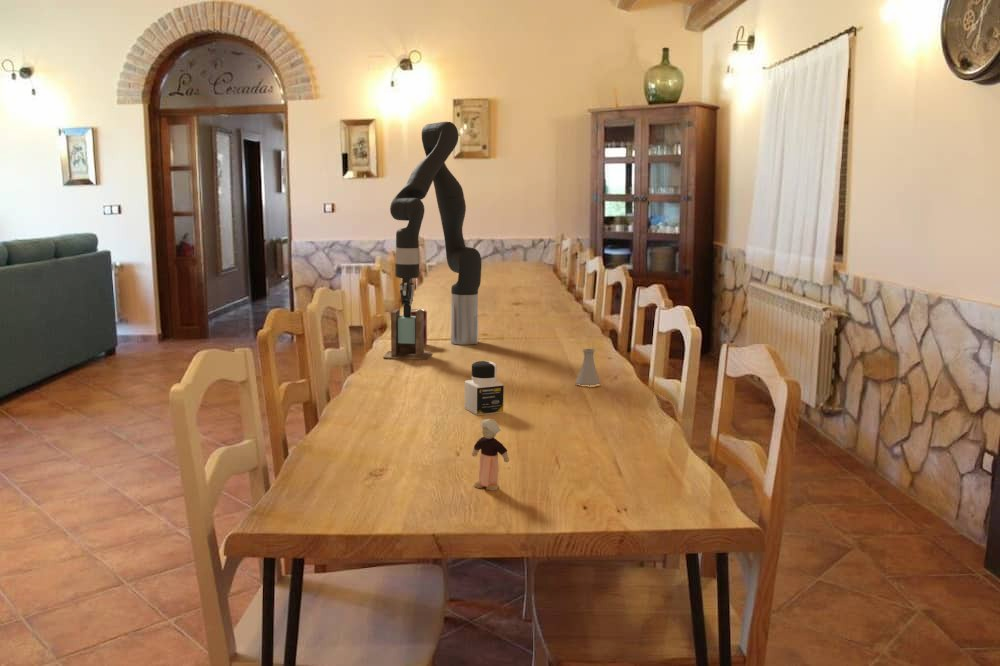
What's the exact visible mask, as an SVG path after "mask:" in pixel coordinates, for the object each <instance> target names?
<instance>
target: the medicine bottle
mask: <svg viewBox="0 0 1000 666" xmlns="http://www.w3.org/2000/svg"><path fill="white" fill-rule="evenodd" d="M497 378H498V365H497V364H496V363H495V362H493V361H489V360H488V361H487V360H480V361H475V362H473V363H472V364H471V379H469V380H465V381H464V409H465V410H466V411H468V412H469V413H472V414H473V415H475V416H477V417H478V416H485V415H487V416H488V415H495V414H502V413H503V412H504V390H505V389H504V387H505V385H504V383H502V382H500V381H497V380H498V379H497Z"/></svg>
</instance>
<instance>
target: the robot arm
mask: <svg viewBox="0 0 1000 666" xmlns="http://www.w3.org/2000/svg"><path fill="white" fill-rule="evenodd" d="M421 142H422V146H423V150H424V153H425V157H424V159H422V160H421V161H420V162H419V164H417V165H416V167H415V168H414V169H413V170H412V173H411V174H410V176H409V178H408V180H407V182H406V184H405V185H404V186H403V188H402V189H401V190H400V191H399V192H398V193H397V194H396V195H395V196H394V198H393V199H392V201H391V204H390V207H389V211H390V215H391V218H393V219H394V220H396V221H403V222H404V221H405V222H406V221H408V223H407V225H406V227H403V228H399V229H397V230H396V234H395V253H394V254H395V255H394V256H395V257H394V258H395V259H394V261H395V263H394V264H395V268H394V273H395V274H394V277H396V278H398V279H401V280H402V281H401V283H400V286H399V287H400V288H399V289H400V291H399V292H400V299H401V305H402V306H403V308H402V309H403V314H402V316H404V317H411V309H412V304H413V301H414V300H413V299H414V290H415V282H413V279H417V278H419V277H420V249H419V245H420V244H419V243H420V241H419V240H420V239H419V236H420V235H419V234H420V231H421V227H422V223H423V219H424V216H425V206H424V203H423V201H422V200H423V199H424V198H426V196H427V195H428V192H429V190H430V188H431V186H432V184H433V186H434V192H435V197H436V203H437V208H438V212H439V216H440V217H439V218H440V221H441V222H440V223H441V226H442V232H443V237H444V245H445V256H446V257H445V258H446V261H447V262H446V263H447V265H448V267H449V269H450V270H451V271H452V272H454V273H456V274H458V275H457V276H458V277H457V281H456V282H455V283H454V284H452V285H451V287H450V288H451V290H450V291H451V292H450V293H451V294H450V297H451V299H450V304H451V306H450V307H451V308H450V341H451V342H450V343H451V344H455V345H460V346H461V345H462V346H463V345H465V346H467V345H477V344H478V342H479V313H478V312H479V310H478V309H479V288H480V286H481V280H482V279H481V277H482V255H481V253H480V252H479V251H478V249H476V248H474V247H470V246H466V243H465V239H464V234H463V226H464V221H465V217H466V211H467V210H466V209H467V208H466V207H467V205H466V199H465V194H464V190H463V186H462V185H461V184H460V182H459V180H457V178H456V177H455V176H454V175H453V173H452V172H451V171H450V170H449V168H448V167H447V165H446V161H447V160H448V158H449V157H450V155H452V153H453V151H454V149H455V148H456V147H457V145H458V142H459V131H458V128H457V126H456V125H455V123H454V122H451V121H441V122H434V123H428V124H425V125H424V126H423V127H422V130H421Z"/></svg>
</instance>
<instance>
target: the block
mask: <svg viewBox="0 0 1000 666" xmlns="http://www.w3.org/2000/svg"><path fill="white" fill-rule="evenodd" d="M398 343H406V344H415V343H416V316H411V317H404V316H403V315H400V317H398Z"/></svg>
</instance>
